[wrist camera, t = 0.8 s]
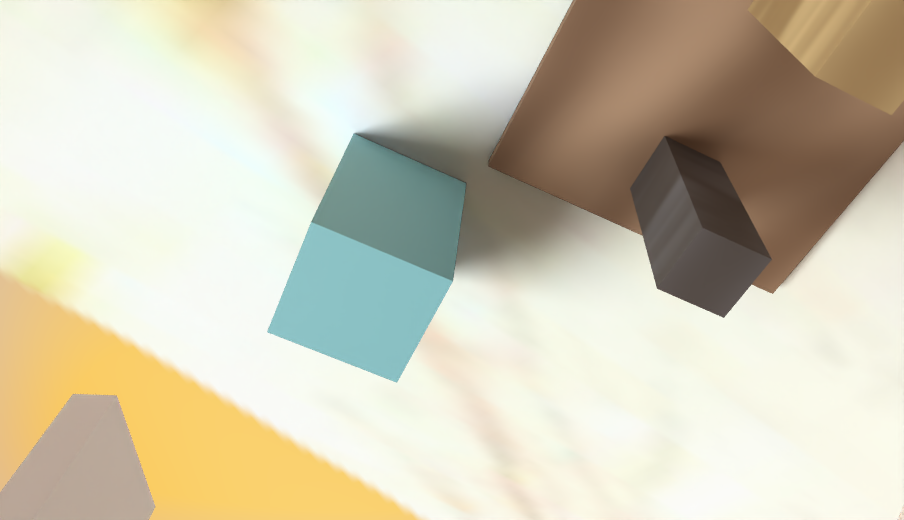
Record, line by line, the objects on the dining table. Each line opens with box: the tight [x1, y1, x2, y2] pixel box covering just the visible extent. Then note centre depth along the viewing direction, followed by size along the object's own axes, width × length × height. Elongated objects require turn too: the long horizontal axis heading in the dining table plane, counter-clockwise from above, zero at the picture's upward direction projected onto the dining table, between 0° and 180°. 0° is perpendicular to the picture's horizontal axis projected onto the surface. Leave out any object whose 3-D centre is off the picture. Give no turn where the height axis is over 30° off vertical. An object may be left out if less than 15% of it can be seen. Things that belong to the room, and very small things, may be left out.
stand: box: [488, 0, 904, 318], centre depth 26 cm, size 14×14×8 cm
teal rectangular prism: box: [267, 134, 466, 382], centre depth 30 cm, size 5×5×8 cm
